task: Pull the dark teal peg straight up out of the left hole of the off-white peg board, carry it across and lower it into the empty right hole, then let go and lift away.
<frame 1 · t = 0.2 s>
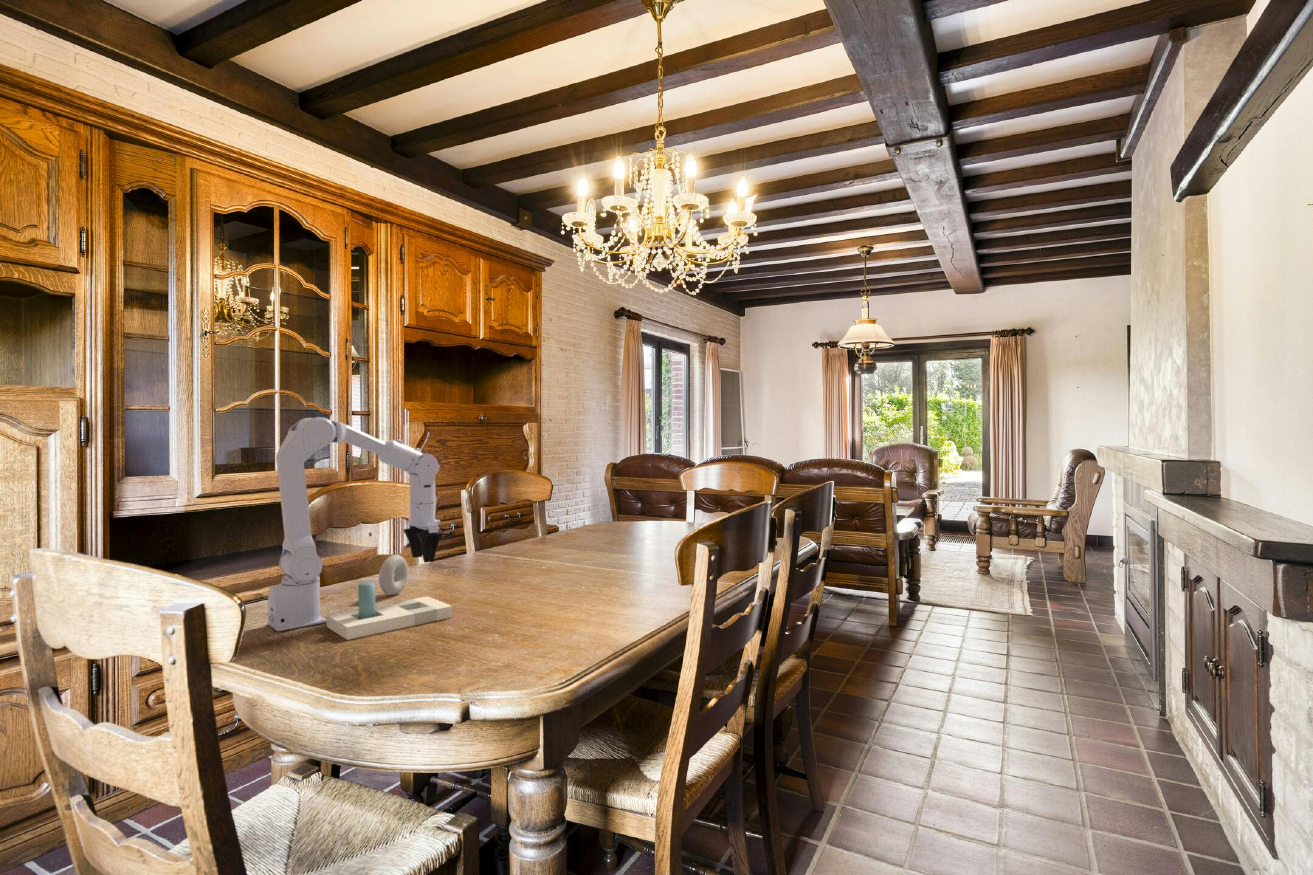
hand: (423, 559, 157), 10 cm above the table, tool pointing down, fingers open, 7 cm apart
donut: (394, 595, 164), on the table
peg: (367, 626, 137), resting in peg board
peg board: (391, 621, 140), on the table
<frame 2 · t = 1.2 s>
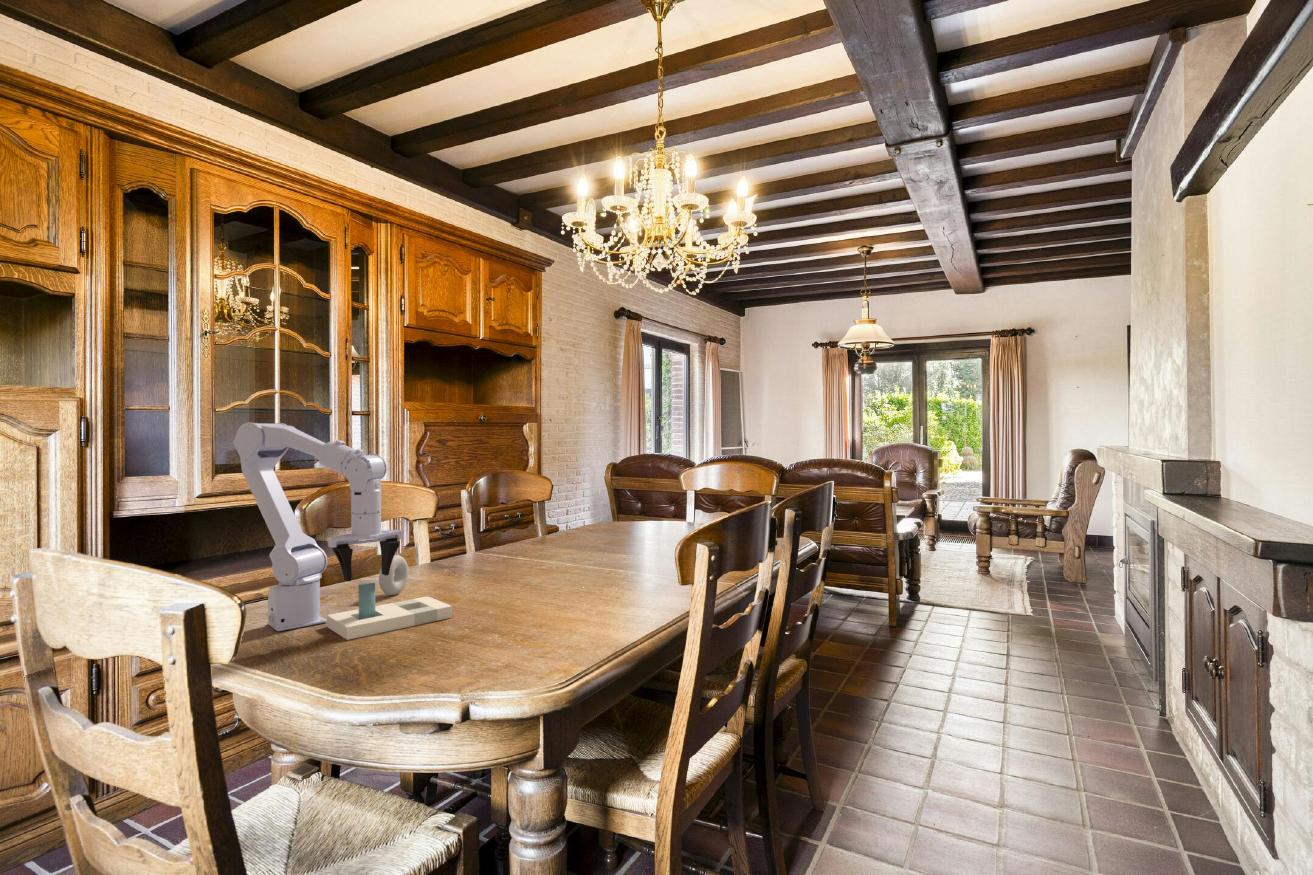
hand: (366, 577, 137), 10 cm above the table, tool pointing down, fingers open, 7 cm apart
nothing on the table moved.
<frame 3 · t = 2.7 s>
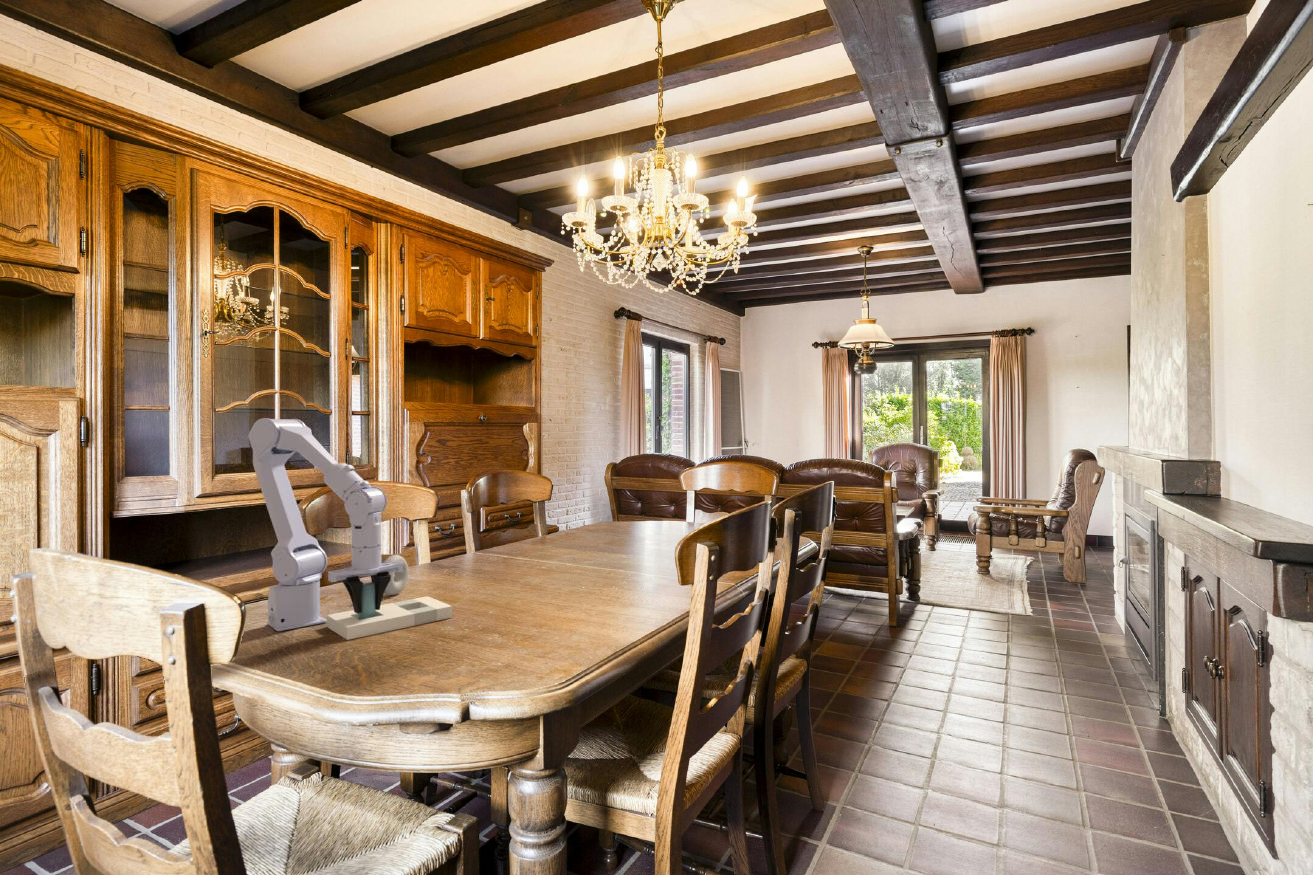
hand: (367, 610, 137), 3 cm above the table, tool pointing down, fingers closed on peg, 3 cm apart
peg: (367, 626, 137), resting in peg board, touching gripper
everything else where it was.
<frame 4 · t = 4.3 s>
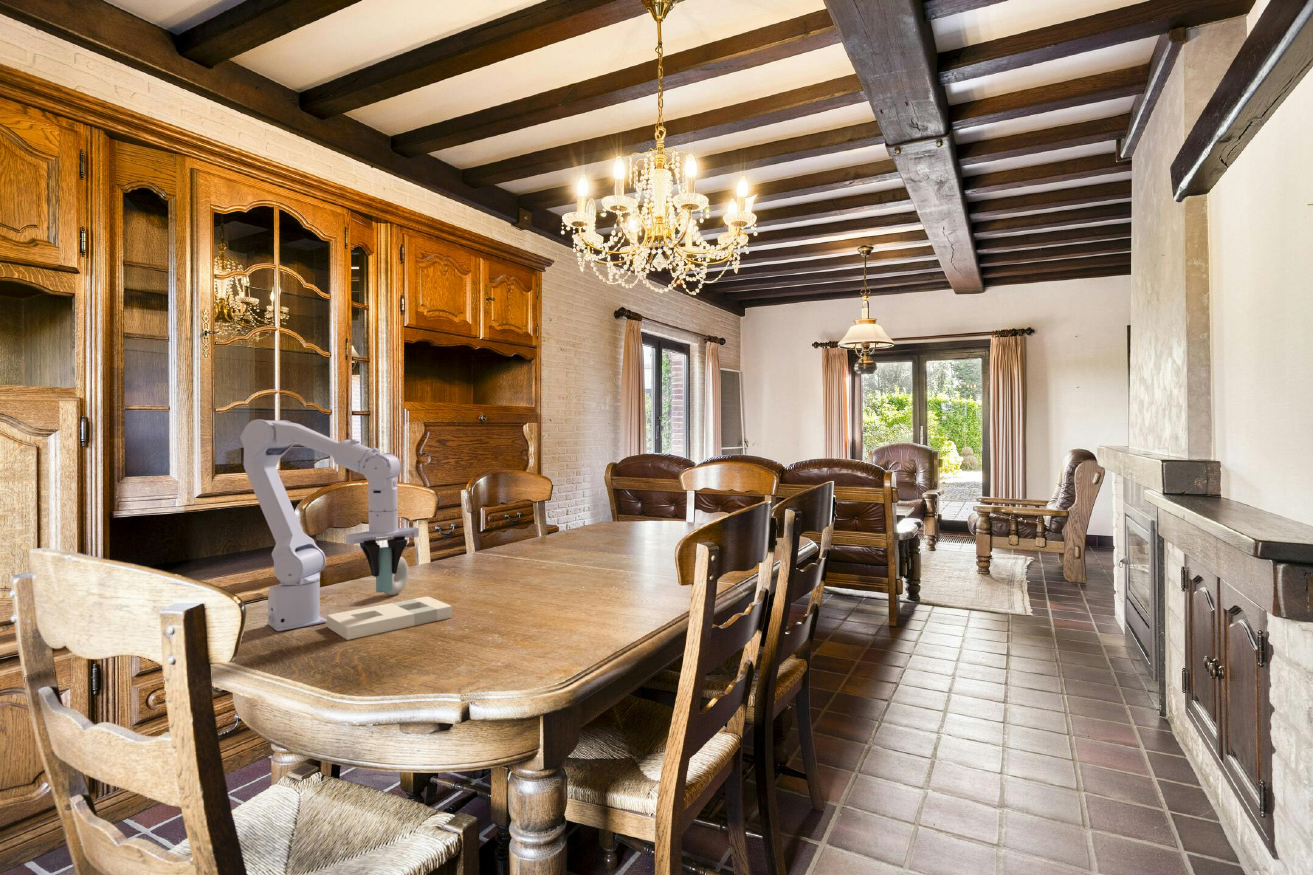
hand: (384, 574, 139), 10 cm above the table, tool pointing down, fingers closed on peg, 3 cm apart
peg: (384, 590, 139), point 7 cm above the table, touching gripper
everything else where it was.
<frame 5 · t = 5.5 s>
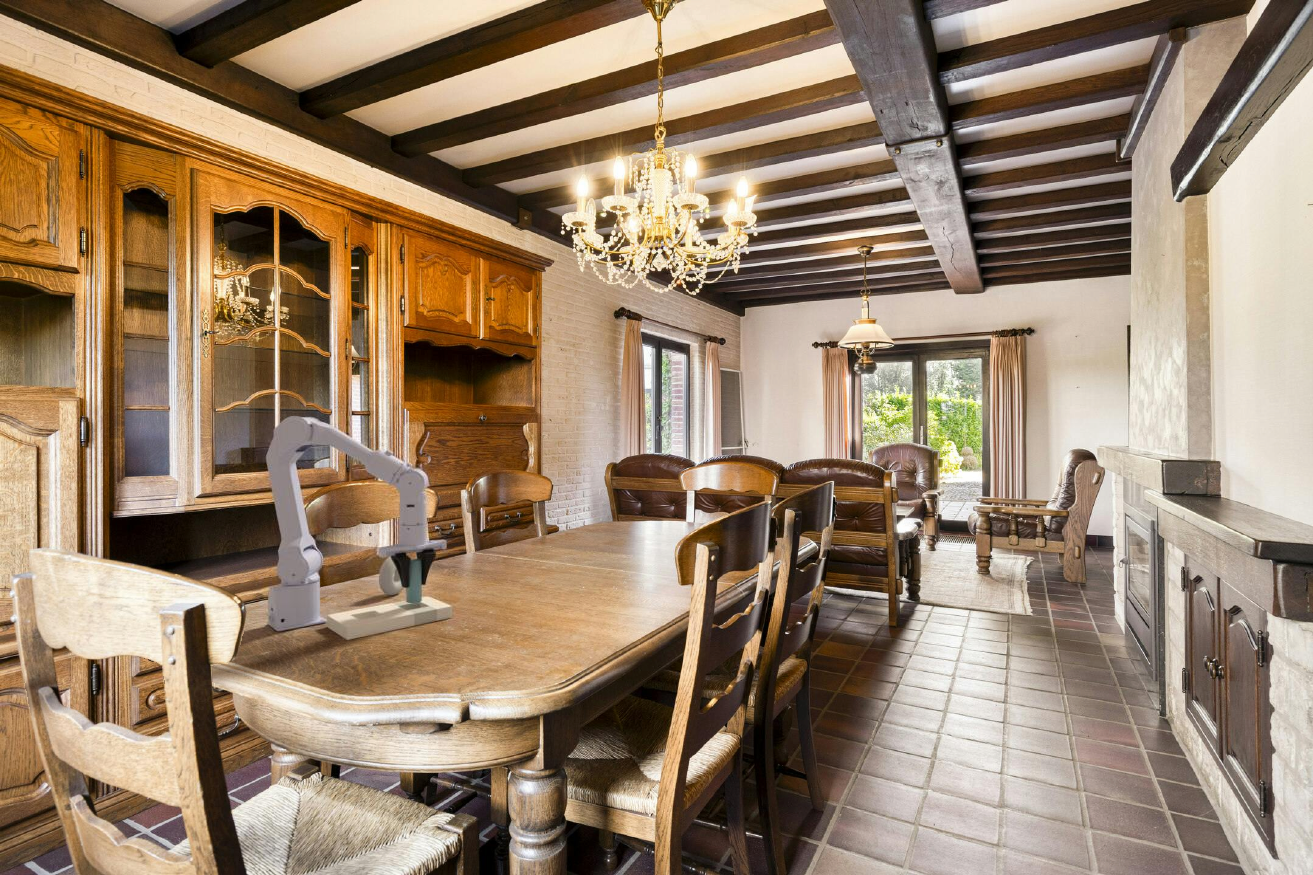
hand: (413, 585, 143), 7 cm above the table, tool pointing down, fingers closed on peg, 3 cm apart
peg: (414, 601, 143), point 4 cm above the table, touching gripper
everything else where it was.
when the fingers open (5 cm above the table, at t = 6.4 s): peg drops 1 cm, resting in peg board.
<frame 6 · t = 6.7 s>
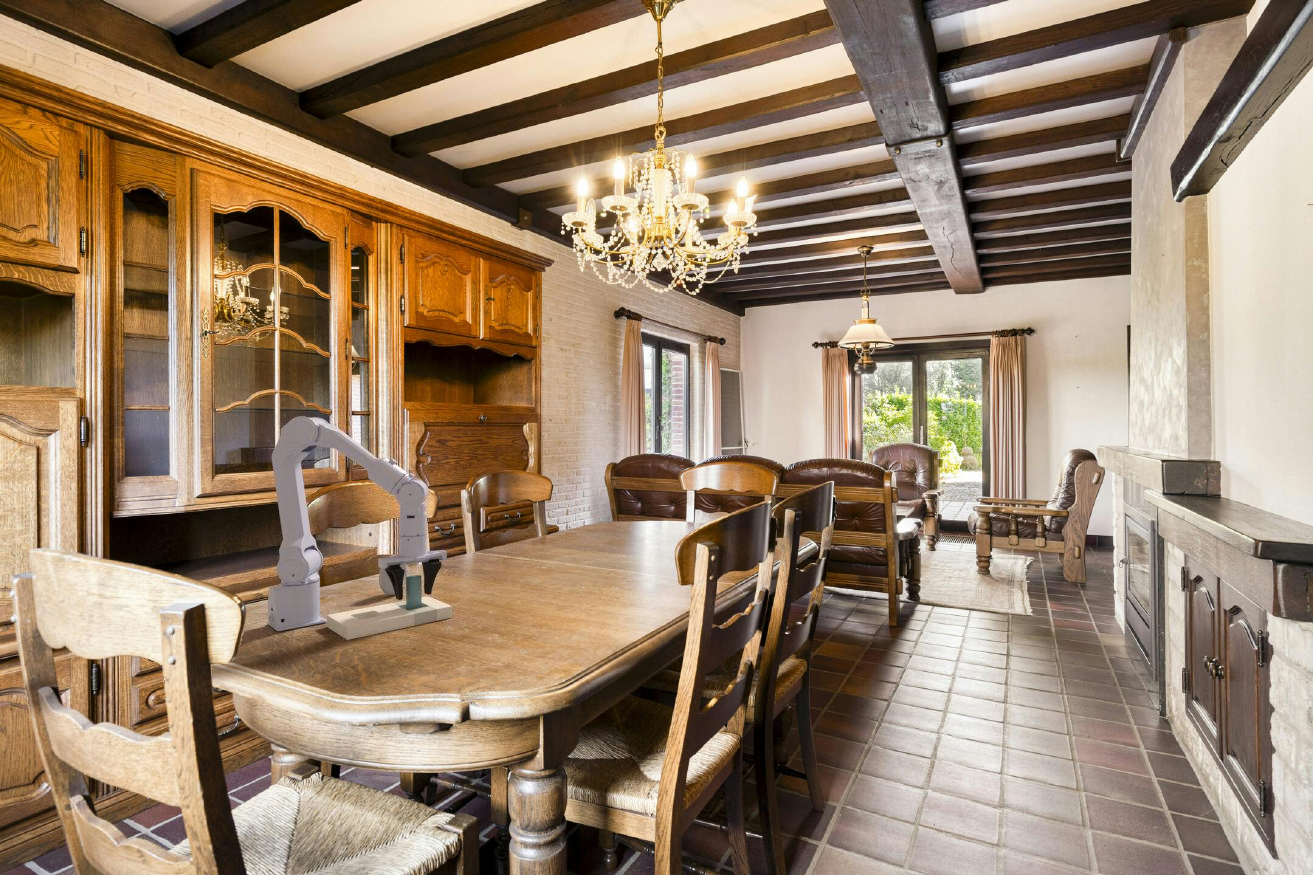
hand: (413, 596, 144), 5 cm above the table, tool pointing down, fingers open, 6 cm apart
peg: (414, 617, 143), resting in peg board
everything else where it was.
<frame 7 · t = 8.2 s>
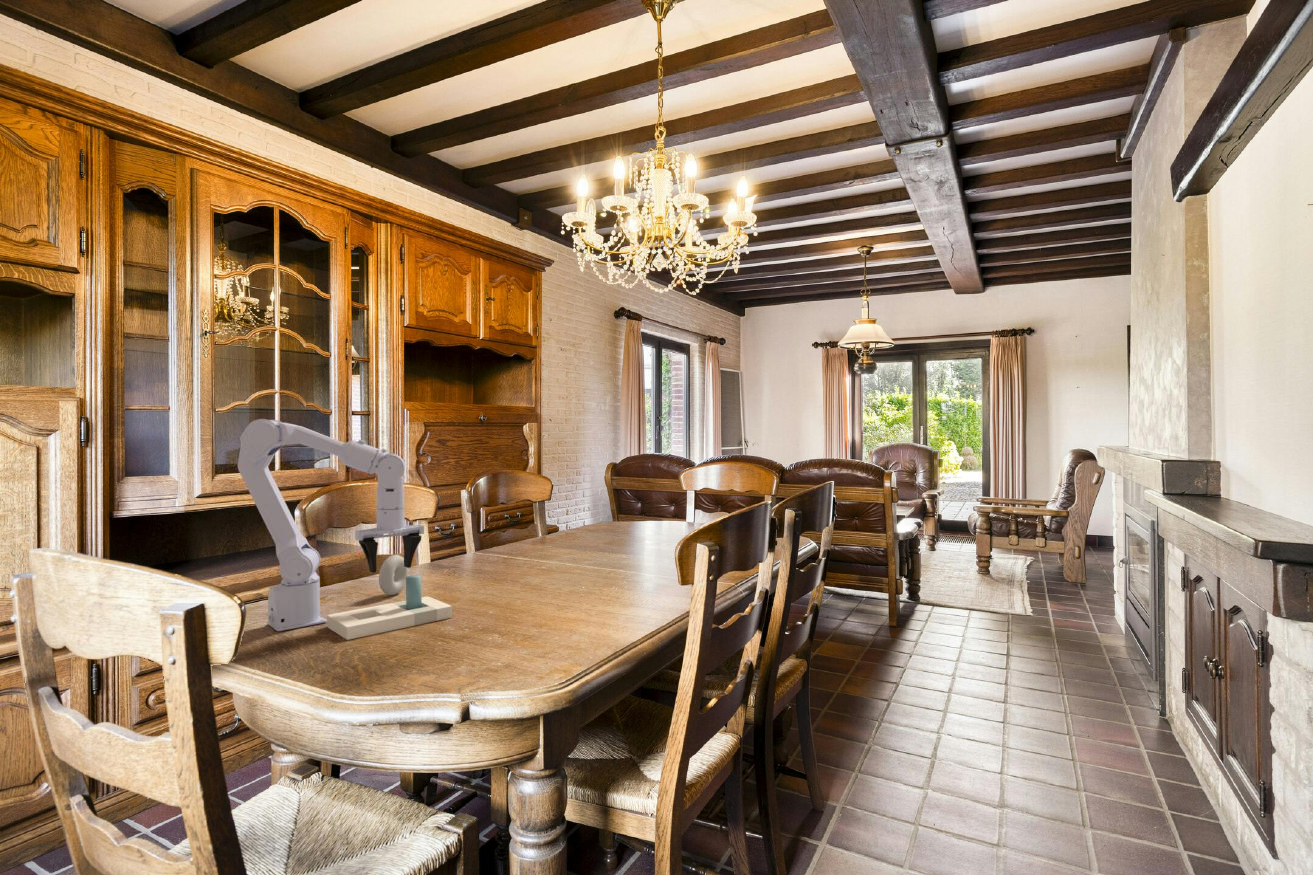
hand: (390, 569, 145), 10 cm above the table, tool pointing down, fingers open, 7 cm apart
nothing on the table moved.
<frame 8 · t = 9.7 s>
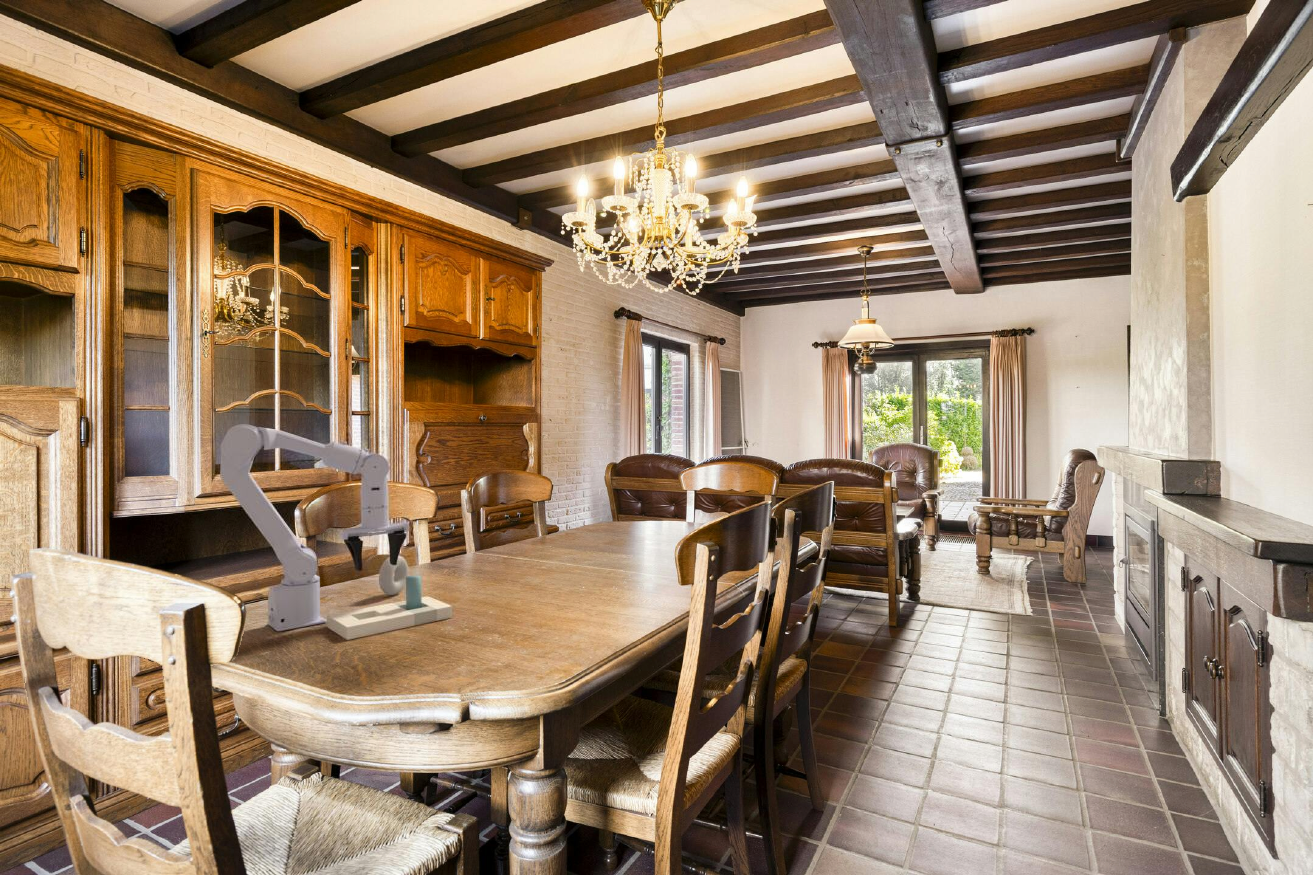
hand: (376, 567, 147), 10 cm above the table, tool pointing down, fingers open, 7 cm apart
nothing on the table moved.
at the end: peg 0.1 cm from the target spot on the peg board, point 0.0 cm above the peg board's base; peg tilted 0°; the gripper is holding nothing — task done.
